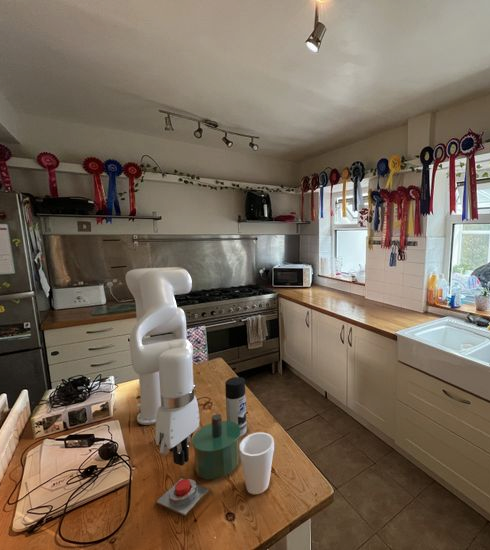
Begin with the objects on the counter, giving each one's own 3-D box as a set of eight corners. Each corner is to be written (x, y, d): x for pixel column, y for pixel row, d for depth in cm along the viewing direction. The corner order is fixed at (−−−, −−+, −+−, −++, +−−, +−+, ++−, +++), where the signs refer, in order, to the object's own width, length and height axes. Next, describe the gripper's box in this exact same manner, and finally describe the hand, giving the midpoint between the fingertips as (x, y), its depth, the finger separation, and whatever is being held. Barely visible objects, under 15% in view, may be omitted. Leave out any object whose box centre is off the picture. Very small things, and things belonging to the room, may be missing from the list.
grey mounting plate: (156, 505, 76) (155, 495, 76) (181, 481, 84) (181, 472, 83) (185, 518, 73) (184, 508, 72) (209, 492, 80) (208, 483, 80)
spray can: (240, 440, 101) (239, 386, 98) (223, 437, 102) (221, 384, 99) (249, 428, 107) (248, 377, 105) (233, 425, 109) (231, 375, 106)
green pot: (185, 473, 87) (184, 444, 85) (216, 445, 98) (215, 419, 97) (219, 486, 82) (218, 456, 81) (247, 455, 94) (246, 428, 93)
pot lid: (181, 447, 85) (180, 424, 84) (215, 419, 98) (214, 400, 97) (219, 460, 80) (218, 436, 79) (249, 429, 93) (249, 409, 92)
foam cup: (256, 505, 77) (255, 461, 75) (233, 489, 81) (232, 447, 80) (281, 480, 85) (280, 439, 83) (258, 467, 89) (258, 428, 88)
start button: (172, 493, 77) (171, 487, 77) (183, 483, 80) (183, 477, 80) (182, 498, 76) (182, 492, 75) (193, 487, 79) (193, 481, 79)
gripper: (190, 380, 83) (193, 439, 85) (138, 410, 69) (143, 479, 71) (211, 385, 80) (213, 446, 83) (162, 417, 66) (166, 489, 68)
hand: (181, 461), depth 77 cm, fingers closed
